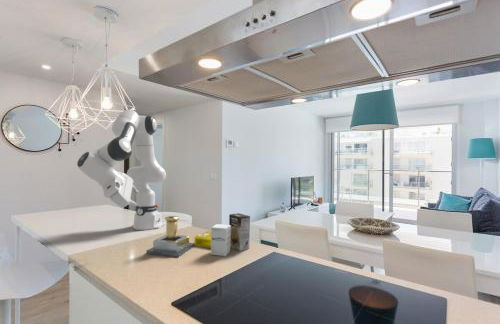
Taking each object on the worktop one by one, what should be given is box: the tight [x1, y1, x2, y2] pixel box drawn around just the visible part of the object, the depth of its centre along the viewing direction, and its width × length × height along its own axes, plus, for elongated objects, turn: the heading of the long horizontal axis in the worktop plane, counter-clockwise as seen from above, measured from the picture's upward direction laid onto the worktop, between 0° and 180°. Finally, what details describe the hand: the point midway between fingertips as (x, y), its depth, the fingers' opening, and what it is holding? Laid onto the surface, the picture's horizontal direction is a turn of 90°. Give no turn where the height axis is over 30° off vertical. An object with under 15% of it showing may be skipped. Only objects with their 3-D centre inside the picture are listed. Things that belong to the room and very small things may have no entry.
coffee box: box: [228, 212, 251, 252], centre depth 127 cm, size 9×6×16 cm
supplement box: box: [210, 223, 231, 257], centre depth 118 cm, size 7×7×13 cm
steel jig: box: [146, 234, 195, 258], centre depth 122 cm, size 16×16×6 cm
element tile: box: [193, 230, 211, 249], centre depth 134 cm, size 15×15×5 cm
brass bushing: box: [164, 215, 180, 241], centre depth 122 cm, size 6×6×14 cm
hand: (136, 199), depth 123 cm, fingers open, 8 cm apart
